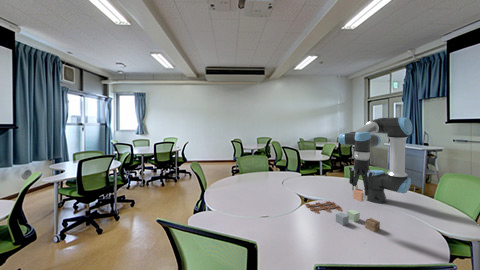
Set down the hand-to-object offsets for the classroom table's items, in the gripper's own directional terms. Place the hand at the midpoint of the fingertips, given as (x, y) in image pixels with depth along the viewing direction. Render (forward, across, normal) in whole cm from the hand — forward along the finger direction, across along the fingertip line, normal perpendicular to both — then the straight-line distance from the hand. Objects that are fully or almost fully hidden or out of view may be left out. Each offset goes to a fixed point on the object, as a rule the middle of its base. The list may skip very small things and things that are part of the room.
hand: (360, 198), depth 113 cm
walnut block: (+18, +4, +6) cm, 19 cm away
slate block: (+18, -8, -4) cm, 20 cm away
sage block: (+18, -8, +6) cm, 20 cm away
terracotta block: (0, 0, 0) cm, 0 cm away
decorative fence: (+19, -28, +2) cm, 34 cm away
